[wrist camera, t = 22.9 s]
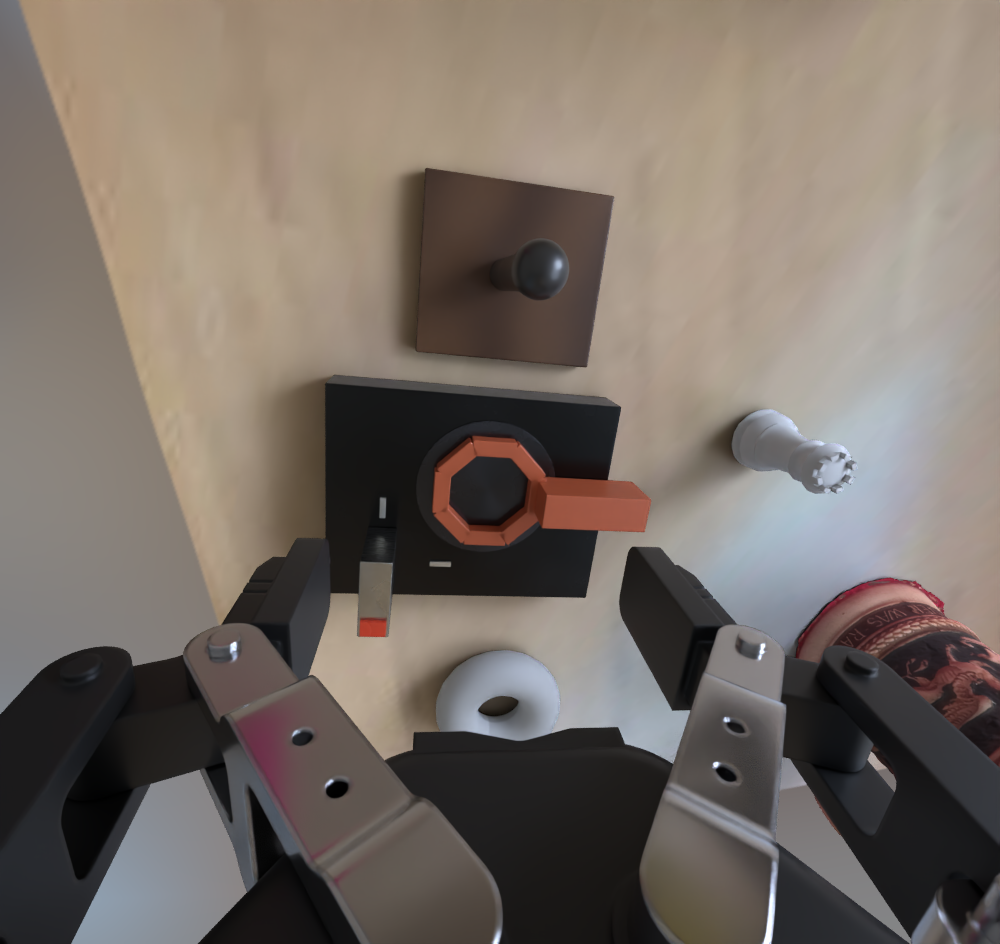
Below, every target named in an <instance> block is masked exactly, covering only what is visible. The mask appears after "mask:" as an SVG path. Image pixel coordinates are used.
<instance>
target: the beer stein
mask: <svg viewBox="0 0 1000 944" xmlns="http://www.w3.org/2000/svg"><path fill="white" fill-rule="evenodd" d="M943 606H944V603H943V602H942V601H940V599H938V597H935V595H933V594H932V593H931V592H927V591H926V590H925V589H923V588H922V587H921V585H919V584H917V582H916V581H914V582H910V581H906V580H903V581H899V580H897V579H895V580H894V579H893V578H885V579H879V580H875V581H870V582H867V583H865V584H860V586H856V588H853V589H851V590H850V591H845V592H844V593H843V594H841V595H839V596H838V598H836V599H835V601H832V602H831V603H830V604H828V606H826V608H824V610H823V611H822V612H821V613H820V614H819V615H818V616H817V618H816V619H815V620H814V621H813V622H812V624H810V625H809V627H808V628H807V630H806V631H805V632H804V633H803V634H802V636H800V638H799V639H798V644H799V645H798V647H797V652H796V658H797V659H802V660H807V661H812V662H816V663H820V660H821V657H822V654H823V652H824V650H825V649H826V648H827V647H829V646H836V645H839V646H847V647H851V648H855V649H858V650H861V651H864V652H866V653H868V654H870V655H872V656H874V657H876V658H878V659H879V660H881V661H882V662H884V663H885V664H887V665H888V666H889V667H890V668H891V669H893V670H894V671H895V672H896V673H897V674H898V675H899V676H900V677H901V678H902V679H903V680H905V681H906V682H907V683H908V684H909V685H910V686H911V687H912V688H913V689H914V690H916V691H917V692H918V693H919V694H920V695H921V696H922V697H923V698H924V699H925V700H926V701H928V702H929V703H930V704H931V705H932V706H933V707H934V708H935V709H936V710H937V711H938V712H940V713H941V714H942V715H943V716H944V717H945V718H946V719H947V720H948V721H949V722H950V723H952V724H953V725H954V726H955V727H956V728H957V729H958V730H959V731H960V732H961V733H963V734H964V735H965V736H966V737H967V738H968V739H969V740H970V741H971V742H972V743H973V744H975V745H976V746H977V747H978V748H979V749H980V750H981V751H982V752H983V753H984V754H985V755H987V756H988V757H989V758H990V759H991V760H992V761H993V762H994V763H995V764H996V765H997V766H999V767H1000V655H998V654H996V653H995V652H993V651H992V650H991V649H990V648H989V647H988V646H986V645H985V644H983V643H982V642H981V641H980V639H979V637H978V636H977V635H976V634H975V633H974V632H973V631H972V630H971V629H969V628H967V627H966V626H965V625H963V624H961V623H959V622H957V621H954V620H951V619H948V618H947V617H946V616H945V614H944V613H943V612H944V610H943ZM871 752H873V753H874V754H875V756H876V757H877V759H878V760H879V761H880V762H881V763H882V764H883V765H884V766H886V767H887V768H888V770H889V771H890V772H891V773H892V774H894V776H895V773H894V770H893V768H892V766H891V764H890V763H889V761H888V760H887V759H886V758H885V756H884V755H883V754H882V753H881V752H880V751H879V750H878V748H877V747H876V746H875V745H873V748H872V750H871ZM895 779H896V777H895ZM814 796H815V795H814ZM815 799H816V801H817V803H818V804H819V806H820V808H821V809H822V812H823V813H824V815H825V816H826V818H827V819H828V820H829V822H830V823H831V825H832V826H833V827H834V829H835V830H836V831H837V832H838V833H839V831H838V830H837V828H836V827H835V825H834V824H833V822H832V821H831V819H830V818H829V816H828V815H827V813H826V812H825V810H824V809H823V807H822V806H821V804H820V803H819V801H818V800H817V798H816V797H815ZM839 835H841V834H840V833H839Z"/></svg>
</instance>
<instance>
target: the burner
mask: <svg viewBox="0 0 1000 944" xmlns="http://www.w3.org/2000/svg"><path fill="white" fill-rule="evenodd" d="M472 436H480V437H495V438H510V439H515V440H516V441H519V442H520V444H521V445H522V446H523V447H524V448H525V449H526V451H527V452H528V453H529V454H530V455H531V457H532V458H533V459H534V460H535V461H536V463H537V464H538V465H539V466H540V467H541V469H542V470H543V471H544V473H545V474H546V476H545V477H555V473H554V468H553V465H552V462H551V459H550V457H549V456H548V454H547V452H546V450H545V449H544V448H543V446H542V445H541V444H540V443H539V442H538V441H537V439H536V438H534V437H533V436H532V435H531V434H529V433H528V432H526V431H525V430H523V429H521V428H519V427H517V426H514V425H512V424H508V423H504V422H498V421H480V422H473V423H469V424H465V425H463V426H460V427H458V428H456V429H454V430H452V431H450V432H448V433H447V434H446V435H444V436H443V437H442V438H440V439H439V440H438V441H437V442H436V443H435V444H434V445H433V446H432V448H431V449H430V450H429V451H428V453H427V454H426V456H425V458H424V459H423V462H422V464H421V466H420V469H419V472H418V476H417V483H416V496H417V502H418V506H419V509H420V512H421V514H422V516H423V518H424V520H425V521H426V523H427V525H428V526H429V527H430V528H431V529H432V531H433V532H434V533H435V534H437V535H438V536H439V537H440V538H441V539H443V540H444V541H446V542H447V543H449V544H451V545H453V546H456V547H459V548H461V549H465V550H470V551H478V552H489V551H496V550H501V549H504V548H508V547H510V546H513V545H515V544H517V543H519V542H521V541H522V540H524V539H525V538H527V537H528V536H529V535H531V534H532V533H533V532H534V531H535V530H536V529H537V528H538V527H539V526H540V523H539V521H537V522H536V523H535V524H534V525H532V526H531V527H530V528H529V529H527V530H526V531H525V532H524V533H522V534H521V535H520V536H518V537H517V538H516V539H515V540H513V541H512V542H511V543H510V544H508V545H507V544H506V543H505V546H493V545H464V543H463V542H462V543H460V542H459V541H458V540H457V539H456V538H455V537H454V536H453V535H452V534H451V533H450V532H449V531H448V530H447V529H446V528H445V527H444V526H443V525H442V524H441V523H440V522H439V521H438V520H437V518H436V517H435V516H434V515H433V512H432V497H433V483H434V469H435V467H437V463H439V462H440V461H441V460H442V459H443V458H445V457H446V456H447V455H448V454H449V453H451V452H452V451H453V450H454V449H455V448H457V447H458V446H459V445H460V444H462V443H463V442H464V441H465V440H466V439H468V438H471V440H472ZM527 483H528V478H527V477H526V475H525V474H524V473H523V472H522V471H521V470H520V469H519V467H518V466H517V465H516V464H515V463H514V462H513V460H512V459H511V458H499V457H483V456H476V457H475V458H474V459H473V460H471V461H470V462H469V463H468V464H467V465H465V466H464V467H463V468H462V469H460V470H459V471H458V472H457V473H456V474H454V475H453V476H452V477H451V484H450V496H449V505H450V506H451V507H452V508H453V509H454V510H455V511H456V512H457V513H458V514H459V515H460V516H461V517H462V518H463V519H464V520H465V521H466V523H467V524H468V525H489V526H500V525H502V524H503V523H504V522H505V521H507V520H508V519H509V518H510V517H512V516H513V515H514V514H515V513H517V512H518V511H519V510H520V509H522V508H523V507H524V506H525V498H526V491H527Z"/></svg>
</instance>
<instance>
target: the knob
mask: <svg viewBox="0 0 1000 944" xmlns="http://www.w3.org/2000/svg"><path fill="white" fill-rule="evenodd" d="M396 535H397V529H396V528H377V527H368V531H367V535H366V539H365V543H364V548H363V552H362V556H361V560H360V576H359V601H358V626H357V636H358V637H388V634H389V624H390V615H391V605H392V596H393V581H394V566H395V550H396Z"/></svg>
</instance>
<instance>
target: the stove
mask: <svg viewBox="0 0 1000 944" xmlns="http://www.w3.org/2000/svg"><path fill="white" fill-rule="evenodd" d="M620 411H621V407H620V406H618V405H617V404H615V403H614V402H612V401H610V400H609V399H607V398H605V397H593V396H581V395H569V394H558V393H546V392H534V391H522V390H510V389H498V388H486V387H474V386H462V385H450V384H439V383H427V382H415V381H403V380H391V379H379V378H367V377H355V376H343V375H333V376H332V377H331V378H330V379H329V380H328V381H327V382H326V383H325V471H326V539H328V542H329V554H330V591H331V593H354V594H359V576H360V560H361V556H362V552H363V548H364V543H365V539H366V535H367V531H368V527H377V528H396V529H397V535H396V550H395V566H394V581H393V594H411V595H467V596H524V597H580V598H585V597H586V593H587V588H588V582H589V577H590V571H591V566H592V561H593V555H594V550H595V545H596V539H597V534H598V530H574V529H548V528H542V527H541V525H540V526H539V527H538V528H537V529H536V530H535V531H534V532H533V533H532V534H531V535H529V536H528V537H527V538H525V539H524V540H522V541H521V542H519V543H517V544H515V545H513V546H510V547H508V548H504V549H501V550H496V551H489V552H478V551H470V550H465V549H461V548H459V547H456V546H453V545H451V544H449V543H447V542H446V541H444V540H443V539H441V538H440V537H439V536H438V535H437V534H435V533H434V532H433V531H432V529H431V528H430V527H429V526H428V525H427V523H426V521H425V520H424V518H423V516H422V514H421V512H420V509H419V506H418V502H417V496H416V483H417V476H418V472H419V469H420V466H421V464H422V462H423V459H424V458H425V456H426V454H427V453H428V451H429V450H430V449H431V448H432V446H433V445H434V444H435V443H436V442H437V441H438V440H439V439H440V438H442V437H443V436H444V435H446V434H447V433H448V432H450V431H452V430H454V429H456V428H458V427H460V426H463V425H465V424H469V423H473V422H480V421H498V422H504V423H508V424H512V425H514V426H517V427H519V428H521V429H523V430H525V431H526V432H528V433H529V434H531V435H532V436H533V437H534V438H536V439H537V441H538V442H539V443H540V444H541V445H542V446H543V448H544V449H545V450H546V452H547V454H548V456H549V457H550V459H551V462H552V465H553V468H554V473H555V477H556V478H574V479H592V480H608V475H609V470H610V465H611V459H612V454H613V449H614V443H615V438H616V432H617V427H618V422H619V416H620Z"/></svg>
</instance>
